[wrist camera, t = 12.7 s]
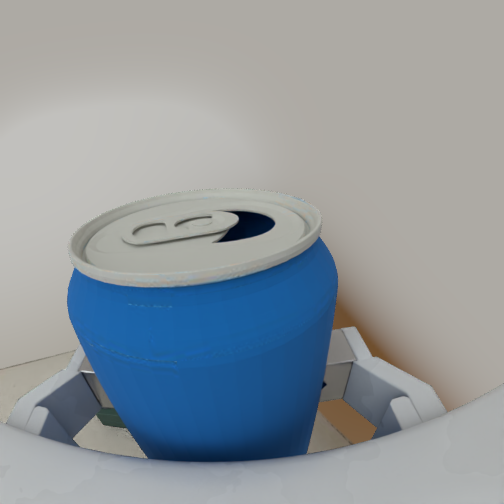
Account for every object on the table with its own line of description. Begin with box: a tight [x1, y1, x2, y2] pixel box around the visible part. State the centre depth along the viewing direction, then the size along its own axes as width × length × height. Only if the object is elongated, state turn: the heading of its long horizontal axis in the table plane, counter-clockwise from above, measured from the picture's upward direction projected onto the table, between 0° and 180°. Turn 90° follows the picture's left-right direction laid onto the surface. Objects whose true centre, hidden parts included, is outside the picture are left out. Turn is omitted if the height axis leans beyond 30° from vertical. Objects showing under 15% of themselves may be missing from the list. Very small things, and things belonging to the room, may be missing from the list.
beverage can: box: [67, 189, 338, 462], centre depth 9 cm, size 6×6×12 cm
